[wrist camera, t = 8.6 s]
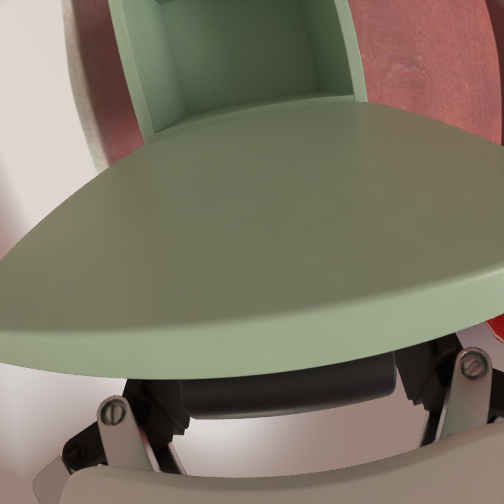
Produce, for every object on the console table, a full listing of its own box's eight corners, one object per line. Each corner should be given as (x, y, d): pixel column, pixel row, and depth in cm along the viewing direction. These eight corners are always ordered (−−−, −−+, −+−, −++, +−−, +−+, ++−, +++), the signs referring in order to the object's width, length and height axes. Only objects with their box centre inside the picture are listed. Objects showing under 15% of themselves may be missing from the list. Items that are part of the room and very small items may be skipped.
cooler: (154, 3, 16) (103, -28, 8) (298, -27, 15) (319, -77, 6) (185, 125, 23) (146, 150, 15) (327, 97, 21) (368, 107, 13)
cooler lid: (-55, 327, 3) (83, 453, 6) (615, 221, 1) (514, 400, 4) (141, 145, 14) (171, 231, 17) (371, 101, 13) (377, 195, 16)
